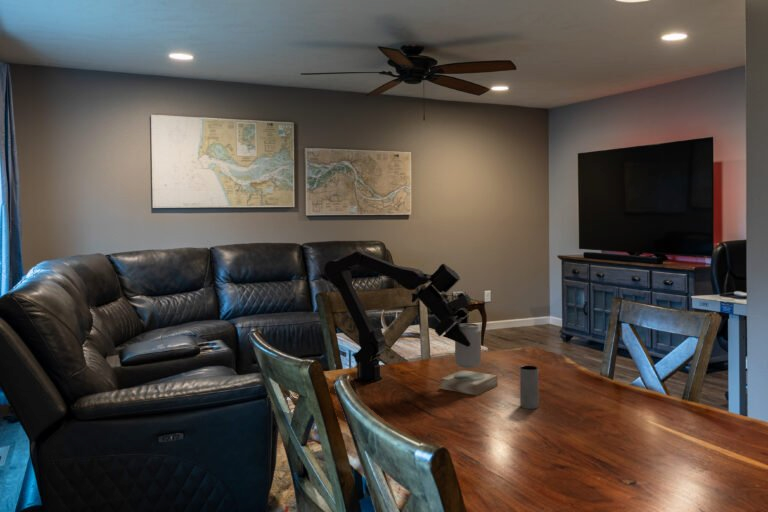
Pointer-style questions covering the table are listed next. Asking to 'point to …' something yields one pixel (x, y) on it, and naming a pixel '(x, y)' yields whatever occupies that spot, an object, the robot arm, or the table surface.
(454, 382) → the pedestal
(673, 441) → the table surface
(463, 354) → the can
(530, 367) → the grey cylinder
